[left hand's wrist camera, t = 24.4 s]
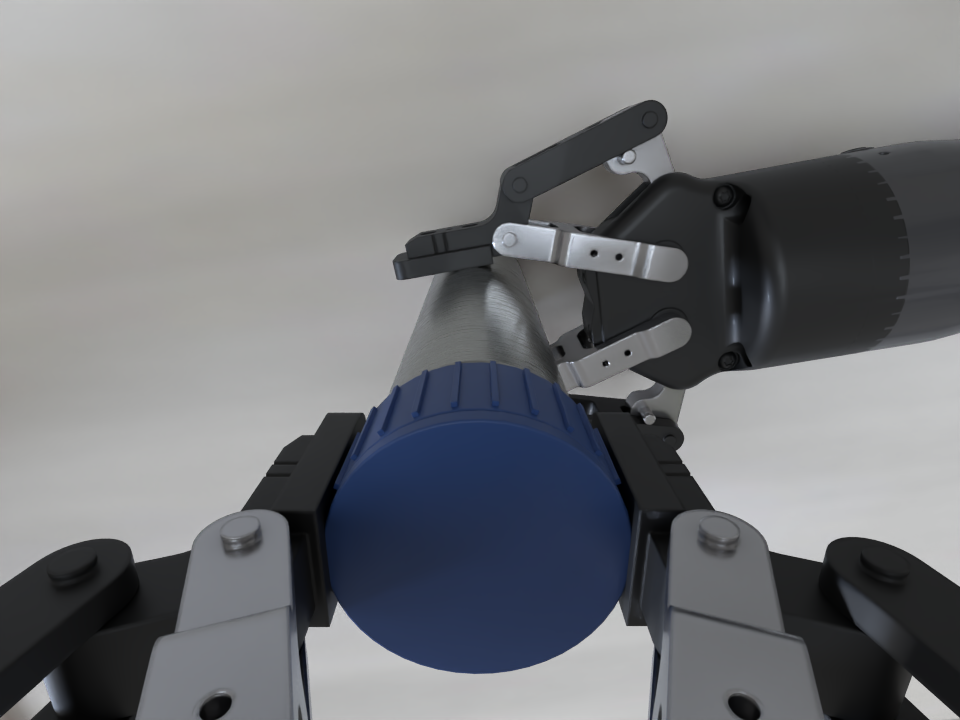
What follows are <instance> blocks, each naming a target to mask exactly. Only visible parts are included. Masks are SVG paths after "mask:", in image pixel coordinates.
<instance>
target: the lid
mask: <svg viewBox="0 0 960 720" xmlns="http://www.w3.org/2000/svg"><path fill="white" fill-rule="evenodd" d="M618 484H621V481H620V479H619V476H618V474H617V472H616V469H615V467H614V465H613V463H612V460H611V458H610V456H609V453H608V451H607V449H606V446H605V444H604V442H603V440H602V437H601V435H600V433H599V431H598V428H595V429H593V428H592V426H591V424H590V422H589V420H588V417H587V415H586V412H585V410H584V408H583V406H582V405H581V403H578V404H576V403H575V402H574V401H573V400H572V399H571V398H570V397H569V396H568V395H567V394H565V393H564V392H563V391H562V390H561V388H560V385H559V384H557V383H556V382H554V384H552V383H550V382H549V381H547V380H545V379H543V378H541V377H539V376H537V375H535V374H533V373H531V372H530V369H527V368H524V370H522V369H519V368H517V367H512V366H507V365H503V364H496V361H490V363H484V362H477V363H461V361H459V362H455V365H449V366H445V367H441V368H438V369H434V370H431V371H429V372H428V370H424V371H422V374H421V375H419V376H417V377H415V378H413V379H412V380H410V381H408V382H407V383H405V384H403V385H402V386H400V387H399V386H398V385H396V386H395V387H394V388H393V390H392V393H391V394H390V395H389V396H388V397H387V398H386V399H385V400H384V401H383V402H382V403H381V404H380V405H379V406H378V407H377V408H376V407H373V408H372V409H371V411H370V413H369V415H368V418H367V420H366V422H365V425H364V427H363V429H362V432H361V433H359V432H357V435H356V437H355V439H354V441H353V444H352V446H351V448H350V450H349V453H348V455H347V457H346V459H345V462H344V464H343V466H342V468H341V471H340V473H339V475H338V477H337V480H336V482H335V484H334V487H333V488H334V489H337V493H336V495H335V497H334V499H333V502H332V504H331V507H330V510H329V513H328V516H327V519H326V523H325V540H326V549H327V557H328V566H329V574H330V582H331V588H332V590H333V592H334V594H335V596H336V598H337V600H338V602H339V603H340V605H341V606H342V608H343V609H344V611H345V612H346V614H347V615H348V616H349V618H350V619H351V620H352V621H353V622H354V623H355V624H356V625H357V626H358V627H359V628H360V629H361V630H362V631H363V632H364V633H365V634H366V635H368V636H369V637H370V638H371V639H372V640H374V641H375V642H377V643H378V644H380V645H381V646H383V647H384V648H386V649H387V650H389V651H391V652H393V653H395V654H396V655H398V656H400V657H402V658H404V659H407V660H410V661H412V662H415V663H417V664H420V665H423V666H427V667H431V668H434V669H438V670H444V671H450V672H456V673H470V674H486V673H499V672H507V671H513V670H518V669H522V668H526V667H530V666H533V665H536V664H539V663H542V662H545V661H547V660H549V659H552V658H554V657H556V656H558V655H560V654H562V653H564V652H566V651H567V650H569V649H571V648H572V647H574V646H576V645H577V644H579V643H580V642H581V641H583V640H584V639H585V638H586V637H588V636H589V635H590V634H592V633H593V632H594V631H595V630H596V629H597V628H598V627H599V626H600V625H601V624H602V623H603V622H604V620H605V619H606V618H607V617H608V615H609V614H610V613H611V611H612V610H613V609H614V607H615V605H616V604H617V602H618V600H619V599H620V597H621V595H622V593H623V591H624V588H625V585H626V578H627V569H628V561H629V552H630V543H631V532H632V527H631V523H630V519H629V515H628V511H627V509H626V506H625V504H624V502H623V499H622V497H621V494H620V492H619V490H618V487H617V485H618Z"/></svg>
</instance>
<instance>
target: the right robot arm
mask: <svg viewBox="0 0 960 720" xmlns="http://www.w3.org/2000/svg"><path fill="white" fill-rule="evenodd" d="M666 124H667V112H666V109H665V107H664V106H663V105H662V104H661V103H660V102H658V101H655V100H648V101H644V102H641V103H638V104H635V105H632V106H629V107H627V108H624V109H622V110H620V111H618V112H616V113H614V114H613V115H611V116H609V117H607V118H605V119H603V120H601V121H599V122H597V123H595V124H593V125H591V126H589V127H587V128H585V129H583V130H581V131H579V132H577V133H575V134H573V135H571V136H569V137H567V138H565V139H564V140H562V141H560V142H558V143H556V144H554V145H552V146H550V147H548V148H546V149H544V150H542V151H540V152H538V153H536V154H534V155H532V156H530V157H528V158H526V159H524V160H522V161H520V162H518V163H516V164H515V165H513V166H511V167H509V168H507V169H506V170H505V171H504V172H503V173H502V175H501V178H500V187H499V193H498V198H497V204H496V208H495V210H494V212H493V214H492V215H491V216H490V217H489V218H487V219H486V220H484V221H481V222H476V223H470V224H465V225H459V226H454V227H448V228H443V229H437V230H432V231H426V232H421V233H419V234H418V235H416V236H415V237H413V238H412V239H410V240H409V241H408V242H407V244H406V245H405V247H406V251H407V252H405V253H401V254H399V255H397V256H396V258H395V259H394V260H393V265H394V269H395V274H396V278H397V280H405V279H411V278H417V277H423V276H428V275H434V274H440V273H445V272H451V271H457V270H462V269H466V268H472V267H480V266H485V265H491V264H494V263H493V257H497V256H508V257H515V258H522V259H529V260H536V261H544V262H550V263H554V264H557V265H560V266H564V267H570V268H577V274H578V278H579V280H580V283H581V285H582V288H583V290H584V293H585V297H584V303H583V309H582V317H583V325H581V326H579V327H577V328H575V329H573V330H571V331H569V332H567V333H565V334H563V335H562V336H561V337H560V338H559V339H558V341H556V342H555V343H553V344H551V345H550V348H551V350H552V353H553V356H554V358H555V361H556V364H557V366H558V369H559V372H560V374H561V377H562V380H563V382H564V385H565V387H566V390H567V391H569V390H572V389H574V388H576V387H582V388H586V387H590V386H593V385H595V384H597V383H599V382H601V381H603V380H606V379H608V378H610V377H612V376H614V375H616V374H618V373H620V372H622V371H625V370H627V369H629V370H631V371H634V372H636V373H638V374H640V375H642V376H644V377H646V378H648V379H650V380H653V381H655V382H656V383H655V384H654V385H653V386H652V387H651V388H649V389H646V390H638V391H634V392H631V393H630V395H629V396H628V397H627V399H617V398H606V397H595V396H584V395H574V394H568V395H569V397H570V398H571V399H572V400H573V401H574V402H575V403H576V404H578V403H581V405H582V406H583V408H584V410H585V412H586V415H587V417H588V420H589V422H590V424H591V419H592V415H593V413H594V412H629V413H630V414H631V416H632V418H633V419H634V421H635V423H636V425H637V426H638V428H639V430H640V431H641V433H642V435H656V436H657V437H659V438H660V439H662V440H663V441H665V442H666V443H668V444H669V445H671V446H672V447H673V448H674V449H675V451H676V450H678V449H679V448H680V447H681V446H682V444H683V441H684V435H683V433H682V431H681V430H680V429H679V427H678V425H677V421H678V417H679V413H680V409H681V405H682V401H683V397H684V393H685V389H689V388H692V387H694V386H696V385H698V384H699V383H700V382H702V381H703V380H705V379H706V378H708V377H710V376H712V375H714V374H717V373H720V372H724V371H742V370H755V369H761V368H767V367H774V366H780V365H786V364H792V363H798V362H805V361H811V360H817V359H823V358H829V357H835V356H842V355H848V354H854V353H860V352H865V351H872V350H878V349H885V348H891V347H897V346H904V345H910V344H917V343H922V342H927V341H932V340H936V339H940V338H943V337H947V336H951V335H954V334H958V333H960V139H957V140H932V141H916V142H909V143H902V144H896V145H890V146H884V147H879V148H874V147H869V148H866V147H861V148H856V149H852V150H848V151H845V152H842V153H841V154H840V155H834V156H829V157H823V158H818V159H812V160H807V161H801V162H796V163H790V164H785V165H779V166H774V167H768V168H763V169H757V170H752V171H746V172H741V173H735V174H730V175H724V176H719V177H714V178H706V179H699V178H696V177H693V176H691V175H688V174H686V173H681V172H675V171H674V168H673V165H672V162H671V159H670V156H669V153H668V150H667V147H666V144H665V142H664V139H663V136H662V131H663V130H664V129H665V126H666ZM601 164H603V165H604V167H605V169H606V170H607V171H609V172H611V173H614V174H620V175H624V174H629V173H632V172H635V173H637V174H639V175H640V176H641V177H642V179H643V181H644V182H643V183H642V184H641V185H640V186H639V187H638V188H637V189H636V190H635V191H634V192H633V193H632V194H631V195H630V196H629V197H628V198H627V199H626V200H625V201H624V202H623V203H622V204H621V205H620V206H619V207H617V208H616V209H615V210H614V211H613V212H612V213H611V214H610V215H609V216H608V217H607V218H606V219H605V220H604V221H603V222H602V223H601V224H600V225H599V226H598V227H591V226H584V225H577V224H570V223H563V222H548V221H540V220H533V219H529V217H530V212H531V207H532V202H533V198H534V197H536V196H538V195H540V194H542V193H544V192H546V191H548V190H550V189H552V188H554V187H556V186H558V185H561V184H563V183H565V182H567V181H569V180H571V179H573V178H575V177H577V176H579V175H581V174H583V173H585V172H587V171H589V170H591V169H593V168H595V167H597V166H599V165H601ZM603 361H604V362H603Z"/></svg>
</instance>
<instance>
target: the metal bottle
mask: <svg viewBox="0 0 960 720" xmlns="http://www.w3.org/2000/svg"><path fill="white" fill-rule="evenodd" d="M493 263H494V264H491V265H485V266H480V267H472V268H466V269H462V270H457V271H451V272H445V273H440V274H435V276H434V278H433V281H432V284H431V286H430V289H429V291H428V294H427V297H426V299H425V302H424V304H423V307H422V310H421V312H420V315H419V317H418V320H417V323H416V325H415V328H414V330H413V333H412V336H411V338H410V341H409V343H408V346H407V349H406V351H405V354H404V357H403V359H402V362H401V364H400V367H399V370H398V372H397V375H396V377H395V380H394V383H393V385H392V388H391V390H390V393H389V395H390V394H391V393H392V390H393V388H394V387H395V386H396V385H398V386H399V387H400V386H402V385H403V384H405V383H407V382H408V381H410V380H412V379H413V378H415V377H417V376H419V375H421V374H422V371H424V370H428V372H429V371H431V370H434V369H438V368H441V367H445V366H449V365H455V362H459V361H461V363H477V362H484V363H490V361H496V364H503V365H507V366H512V367H517V368H519V369H522V370H524V368H527V369H530V372H531V373H533V374H535V375H537V376H539V377H541V378H543V379H545V380H547V381H549V382H550V383H552V384H554V382H556V383H557V384H559V385H560V388H561V390H562V391H563V392H564V393H565V394H567V395H568V393H567V390H566V387H565V385H564V382H563V380H562V377H561V374H560V372H559V369H558V366H557V364H556V361H555V358H554V356H553V353H552V350H551V348H550V345H549V342H548V340H547V337H546V334H545V332H544V329H543V326H542V324H541V321H540V318H539V316H538V313H537V310H536V308H535V305H534V302H533V300H532V297H531V294H530V292H529V289H528V287H527V284H526V281H525V279H524V276H523V273H522V271H521V268H520V265H519V263H518V261H517V259H516V258H515V257H508V256H497V257H493ZM568 396H569V395H568Z"/></svg>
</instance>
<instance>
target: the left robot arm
mask: <svg viewBox="0 0 960 720" xmlns="http://www.w3.org/2000/svg"><path fill="white" fill-rule="evenodd" d="M365 422H366V419H365V415H364V413H328V414H327V415H326V416H325V418H324V420H323V421H322V423H321V425H320V426H319V428H318V430H317V431H316V433H315V435H302V436H300V437H299V438H297V439H296V440H294V441H293V442H291V443H290V444H288V445H287V446H285V447H284V448H283V450H282V451H281V452H280V454H279V455H278V457H277V458H276V460H275V461H274V465H272V466H271V467H270V469H269V470H268V472H267V473H266V477H264V478H263V479H262V481H261V482H260V484H259V485H258V486H257V488H256V489H255V491H254V492H253V494H252V495H251V497H250V498H249V500H248V501H247V503H246V504H245V506H244V507H243V509H242V510H241V512H236V513H233V514H230V515H227V516H225V517H222V518H220V519H218V520H216V521H215V522H213V523H211V524H210V525H208V526H207V527H206V528H205V529H203V530H202V531H201V532H200V533H199V534H198V536H197V537H196V539H195V540H194V542H193V545H192V549H191V550H190V551H187V552H184V553H180V554H176V555H172V556H167V557H162V558H158V559H153V560H148V561H143V562H138V563H134V559H133V555H132V551H131V549H130V547H129V546H128V545H127V544H126V543H124V542H123V541H120V540H116V539H95V540H89V541H84V542H80V543H76V544H73V545H70V546H67V547H64V548H62V549H60V550H57V551H55V552H53V553H51V554H49V555H47V556H45V557H44V558H42V559H41V560H39V561H37V562H36V563H34V564H33V565H31V566H30V567H29V568H27V569H26V570H24V571H23V572H21V573H20V574H18V575H17V576H15V577H14V578H12V579H11V580H9V581H8V582H7V583H5V584H4V585H2V586H1V587H0V717H2V716H3V715H4V714H5V713H6V712H7V711H8V710H9V709H11V708H12V707H13V706H14V705H15V704H16V703H17V702H18V701H20V700H21V699H22V698H23V697H24V696H25V695H26V694H27V693H28V692H30V691H31V690H32V689H33V688H34V687H35V686H36V685H37V684H39V683H40V682H41V681H42V680H43V681H44V684H45V686H46V689H47V692H48V694H49V697H50V700H51V701H50V702H49V703H48V704H47V705H46V706H45V707H44V708H43V709H42V710H40V711H39V712H38V713H37V714H36V715H35V716H34V717H33V718H32V719H31V720H312V710H311V696H310V682H309V669H308V657H307V650H306V643H305V636H306V633H307V630H308V627H330V624H331V621H332V618H333V615H334V612H335V608H336V605H337V602H338V600H337V598H336V596H335V594H334V592H333V590H332V588H331V582H330V574H329V566H328V557H327V549H326V540H325V523H326V519H327V516H328V513H329V510H330V507H331V504H332V502H333V499H334V497H335V495H336V493H337V489H334V488H333V487H334V484H335V482H336V480H337V477H338V475H339V473H340V471H341V468H342V466H343V464H344V462H345V459H346V457H347V455H348V453H349V450H350V448H351V446H352V444H353V441H354V439H355V437H356V435H357V432H359V433H361V432H362V429H363V427H364V425H365ZM591 426H592V428H593V429H595V428H598V431H599V433H600V435H601V437H602V440H603V442H604V444H605V446H606V449H607V451H608V453H609V456H610V458H611V460H612V463H613V465H614V467H615V469H616V472H617V474H618V476H619V479H620V481H621V484H618V485H617V487H618V490H619V492H620V494H621V497H622V499H623V502H624V504H625V506H626V509H627V511H628V515H629V519H630V523H631V527H632V532H631V543H630V552H629V561H628V569H627V578H626V585H625V588H624V591H623V593H622V595H621V597H620V599H619V603H620V606H621V610H622V613H623V616H624V619H625V622H626V626H647V627H648V629H649V632H650V635H651V638H652V641H653V643H654V650H653V657H652V669H651V682H650V696H649V710H648V720H929V719H928V718H927V717H926V716H925V715H924V714H923V713H922V712H921V711H919V710H918V709H917V708H916V707H915V706H914V705H913V704H912V703H911V702H910V701H909V700H908V699H907V698H906V697H905V694H906V691H907V688H908V685H909V683H910V680H911V677H912V676H914V677H915V678H916V679H917V680H918V681H919V682H920V683H921V684H923V685H924V686H925V687H926V688H927V689H928V690H929V691H930V692H931V693H933V694H934V695H935V696H936V697H937V698H938V699H939V700H940V701H942V702H943V703H944V704H945V705H946V706H947V707H948V708H949V709H951V710H952V711H953V712H954V713H955V714H956V715H957V716H958V717H960V587H959V586H958V585H956V584H955V583H953V582H952V581H951V580H949V579H948V578H946V577H945V576H943V575H942V574H940V573H939V572H937V571H936V570H934V569H933V568H931V567H930V566H929V565H927V564H926V563H924V562H923V561H921V560H920V559H918V558H916V557H915V556H913V555H911V554H910V553H908V552H906V551H904V550H902V549H899V548H897V547H895V546H892V545H889V544H887V543H884V542H880V541H876V540H872V539H867V538H859V537H845V538H840V539H836V540H834V541H832V542H831V543H830V544H829V545H828V547H827V549H826V553H825V557H824V561H823V563H821V562H817V561H812V560H807V559H802V558H797V557H793V556H788V555H783V554H779V553H775V552H771V551H769V549H768V545H767V542H766V540H765V539H764V537H763V536H762V534H761V533H760V532H759V531H758V530H757V529H755V528H754V527H753V526H752V525H750V524H749V523H747V522H745V521H744V520H742V519H740V518H738V517H735V516H733V515H730V514H727V513H724V512H719V511H715V509H714V508H713V506H712V505H711V503H710V502H709V500H708V499H707V497H706V496H705V494H704V493H703V491H702V490H701V488H700V487H699V485H698V484H697V482H696V481H695V479H694V478H693V476H690V472H689V470H688V469H687V467H686V466H685V464H682V460H681V458H680V457H679V455H678V454H677V452H676V451H675V449H674V448H673V447H672V446H671V445H669V444H668V443H666V442H665V441H663V440H662V439H660V438H659V437H657V436H656V435H642V433H641V431H640V430H639V428H638V426H637V425H636V423H635V421H634V419H633V418H632V416H631V414H630V413H629V412H594V413H593V415H592V419H591Z"/></svg>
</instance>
